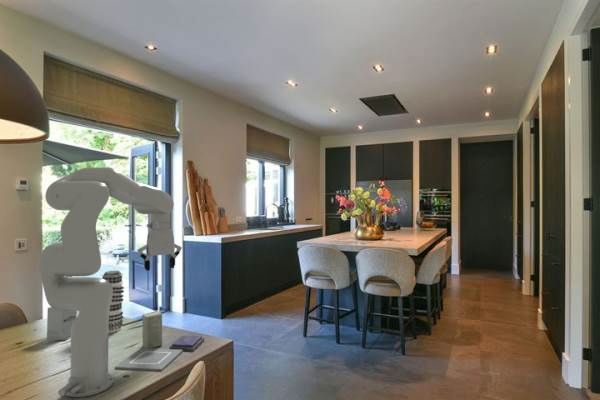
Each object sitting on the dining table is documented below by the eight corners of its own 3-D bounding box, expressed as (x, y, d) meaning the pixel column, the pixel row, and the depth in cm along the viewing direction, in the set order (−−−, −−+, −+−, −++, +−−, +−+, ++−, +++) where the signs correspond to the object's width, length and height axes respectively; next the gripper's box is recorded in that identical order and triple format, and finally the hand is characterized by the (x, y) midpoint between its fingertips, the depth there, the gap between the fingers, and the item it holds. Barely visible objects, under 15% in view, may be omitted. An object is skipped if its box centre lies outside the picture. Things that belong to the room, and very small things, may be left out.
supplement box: (61, 340, 142) (62, 308, 143) (46, 339, 144) (46, 307, 144) (76, 334, 149) (77, 303, 150) (61, 333, 151) (62, 302, 151)
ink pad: (193, 350, 131) (193, 345, 131) (169, 349, 132) (169, 344, 132) (204, 340, 142) (204, 335, 142) (181, 339, 143) (181, 335, 143)
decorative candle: (94, 331, 152) (95, 272, 153) (113, 325, 161) (114, 269, 162) (109, 334, 149) (110, 274, 150) (128, 327, 157) (128, 270, 158)
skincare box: (158, 342, 140) (158, 310, 140) (162, 345, 137) (162, 313, 137) (141, 346, 136) (142, 313, 136) (145, 349, 133) (145, 316, 133)
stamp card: (161, 370, 115) (161, 368, 115) (114, 368, 117) (114, 366, 117) (183, 351, 131) (183, 349, 131) (141, 349, 132) (141, 347, 133)
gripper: (140, 227, 137) (140, 272, 137) (184, 226, 148) (184, 268, 148) (135, 226, 143) (134, 270, 142) (177, 225, 154) (177, 265, 153)
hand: (160, 269), depth 145 cm, fingers open, 9 cm apart
